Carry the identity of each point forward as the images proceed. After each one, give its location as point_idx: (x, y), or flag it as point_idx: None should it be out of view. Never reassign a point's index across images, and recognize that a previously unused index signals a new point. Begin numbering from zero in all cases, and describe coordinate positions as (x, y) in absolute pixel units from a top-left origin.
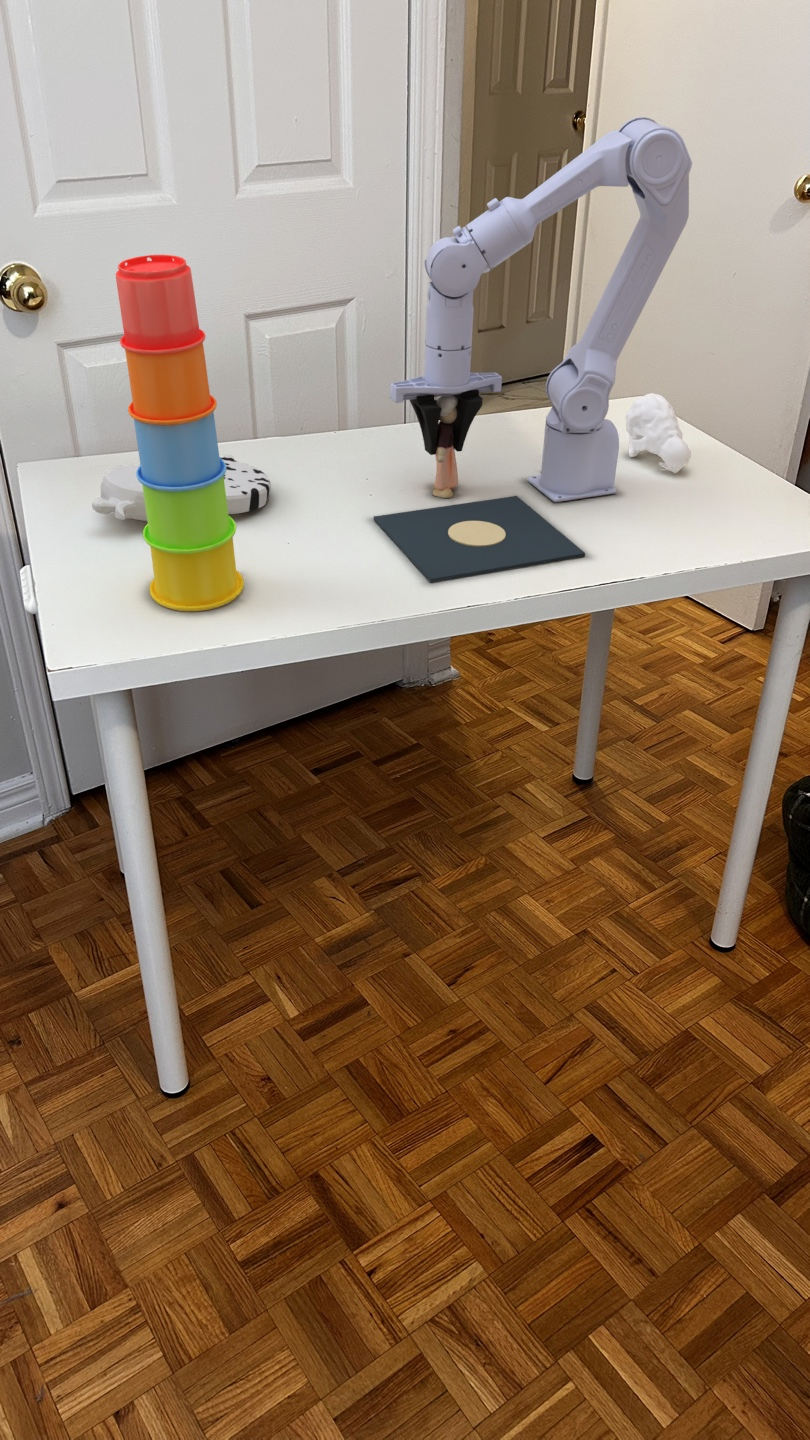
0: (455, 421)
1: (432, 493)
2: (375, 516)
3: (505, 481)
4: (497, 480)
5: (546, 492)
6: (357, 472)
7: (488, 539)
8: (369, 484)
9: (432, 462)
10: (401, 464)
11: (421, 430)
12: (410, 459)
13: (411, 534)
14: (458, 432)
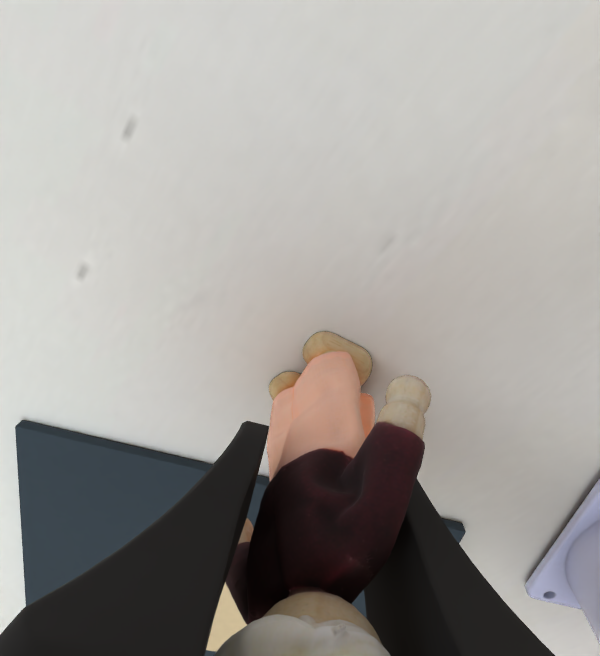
0: (399, 598)
1: (271, 382)
2: (19, 430)
3: (554, 425)
4: (540, 406)
5: (550, 563)
6: (121, 28)
7: (215, 638)
8: (116, 184)
9: (491, 122)
10: (355, 58)
11: (205, 474)
12: (435, 21)
13: (70, 542)
14: (375, 584)
